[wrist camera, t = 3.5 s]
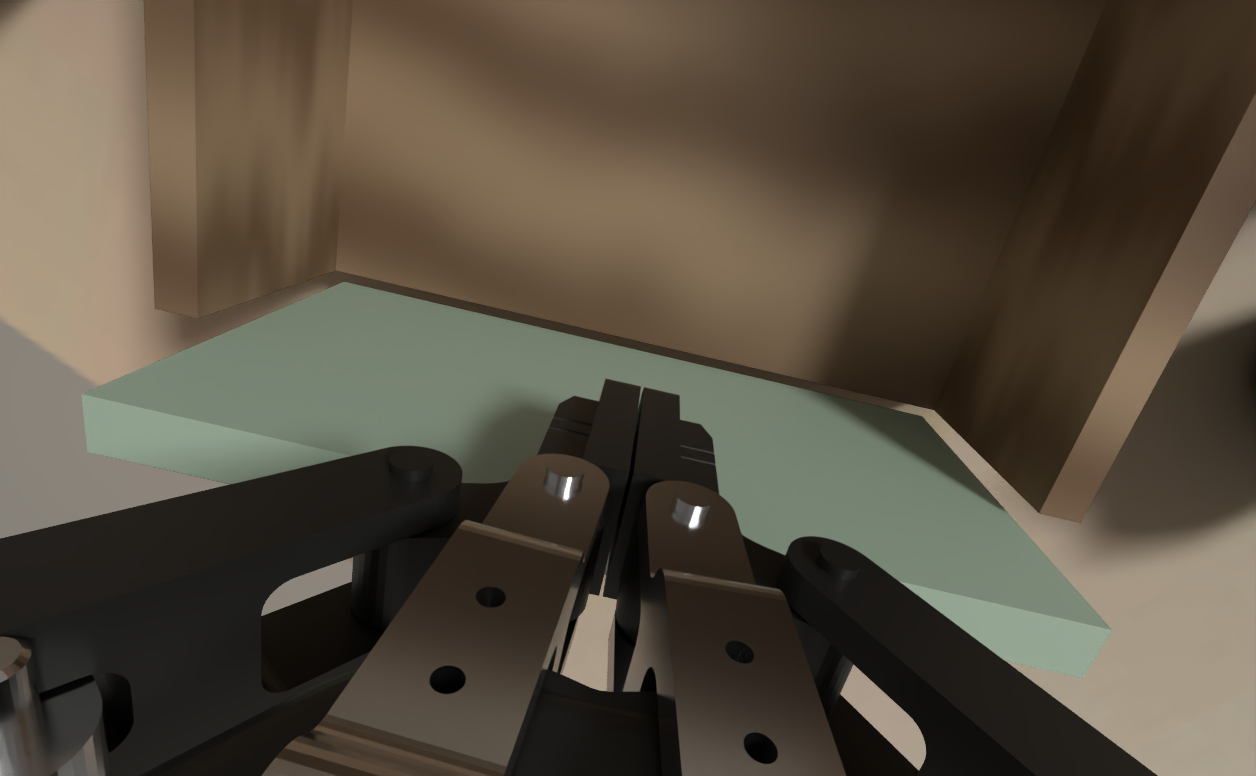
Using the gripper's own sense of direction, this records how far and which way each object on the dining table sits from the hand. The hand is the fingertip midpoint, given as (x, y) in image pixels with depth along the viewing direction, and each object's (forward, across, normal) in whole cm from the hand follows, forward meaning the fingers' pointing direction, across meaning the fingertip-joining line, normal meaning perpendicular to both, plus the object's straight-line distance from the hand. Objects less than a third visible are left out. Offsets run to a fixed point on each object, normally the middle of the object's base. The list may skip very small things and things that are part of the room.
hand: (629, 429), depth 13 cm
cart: (+11, 0, -6) cm, 13 cm away
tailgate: (+8, 0, +2) cm, 9 cm away
